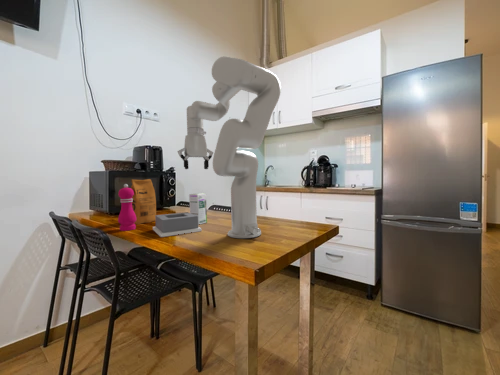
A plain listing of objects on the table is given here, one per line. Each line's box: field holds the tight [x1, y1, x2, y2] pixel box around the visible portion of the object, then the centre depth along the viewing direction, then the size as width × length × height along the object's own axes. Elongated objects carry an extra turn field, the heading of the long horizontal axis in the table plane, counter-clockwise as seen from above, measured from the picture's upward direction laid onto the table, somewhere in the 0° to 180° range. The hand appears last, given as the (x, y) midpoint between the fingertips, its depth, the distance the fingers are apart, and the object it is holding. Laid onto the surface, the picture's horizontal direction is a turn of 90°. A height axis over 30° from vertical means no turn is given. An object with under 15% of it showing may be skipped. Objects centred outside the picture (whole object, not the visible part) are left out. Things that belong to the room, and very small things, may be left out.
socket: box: [152, 211, 202, 238], centre depth 99 cm, size 16×16×6 cm
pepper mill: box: [117, 183, 137, 232], centre depth 103 cm, size 7×7×20 cm
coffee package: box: [130, 178, 157, 225], centre depth 120 cm, size 10×12×22 cm
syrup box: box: [188, 192, 208, 226], centre depth 114 cm, size 6×6×14 cm
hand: (196, 169), depth 113 cm, fingers open, 9 cm apart
